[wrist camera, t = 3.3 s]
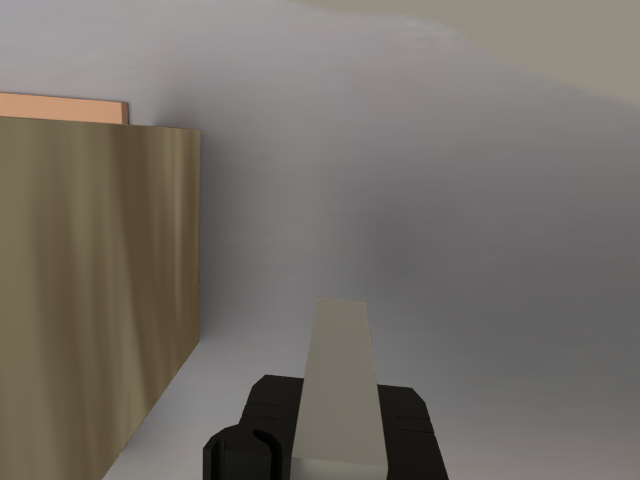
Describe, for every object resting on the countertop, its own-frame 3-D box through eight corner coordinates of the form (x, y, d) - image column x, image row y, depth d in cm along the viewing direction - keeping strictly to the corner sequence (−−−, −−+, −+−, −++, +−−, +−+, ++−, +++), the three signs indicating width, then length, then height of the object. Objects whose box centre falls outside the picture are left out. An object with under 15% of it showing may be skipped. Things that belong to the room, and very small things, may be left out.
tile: (200, 129, 21) (-128, 110, 6) (199, 341, 24) (-27, 659, 9) (152, 125, 21) (-280, 97, 6) (157, 337, 24) (-132, 646, 9)
